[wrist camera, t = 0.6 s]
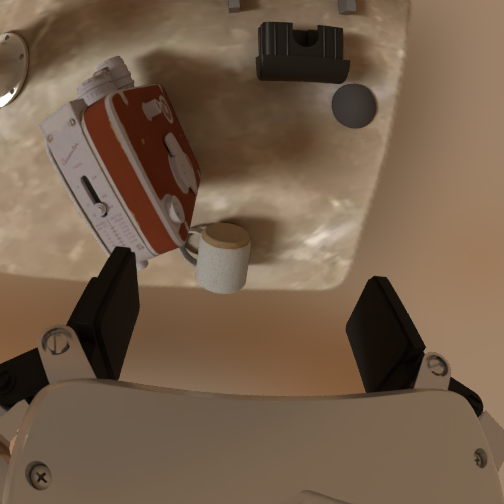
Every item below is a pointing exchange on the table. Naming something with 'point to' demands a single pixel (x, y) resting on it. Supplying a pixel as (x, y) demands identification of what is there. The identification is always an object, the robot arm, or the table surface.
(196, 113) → the table surface
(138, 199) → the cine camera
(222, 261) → the ceramic mug
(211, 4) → the table surface
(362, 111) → the lens cap
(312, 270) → the table surface
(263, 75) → the end cap
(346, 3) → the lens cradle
